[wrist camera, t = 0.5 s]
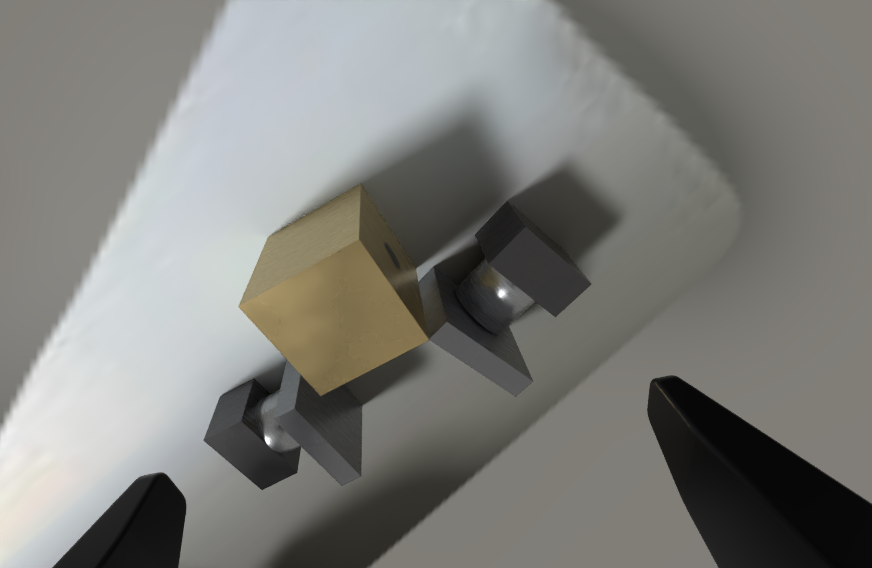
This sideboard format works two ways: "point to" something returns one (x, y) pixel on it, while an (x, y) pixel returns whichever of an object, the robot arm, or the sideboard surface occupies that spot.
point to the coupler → (336, 293)
